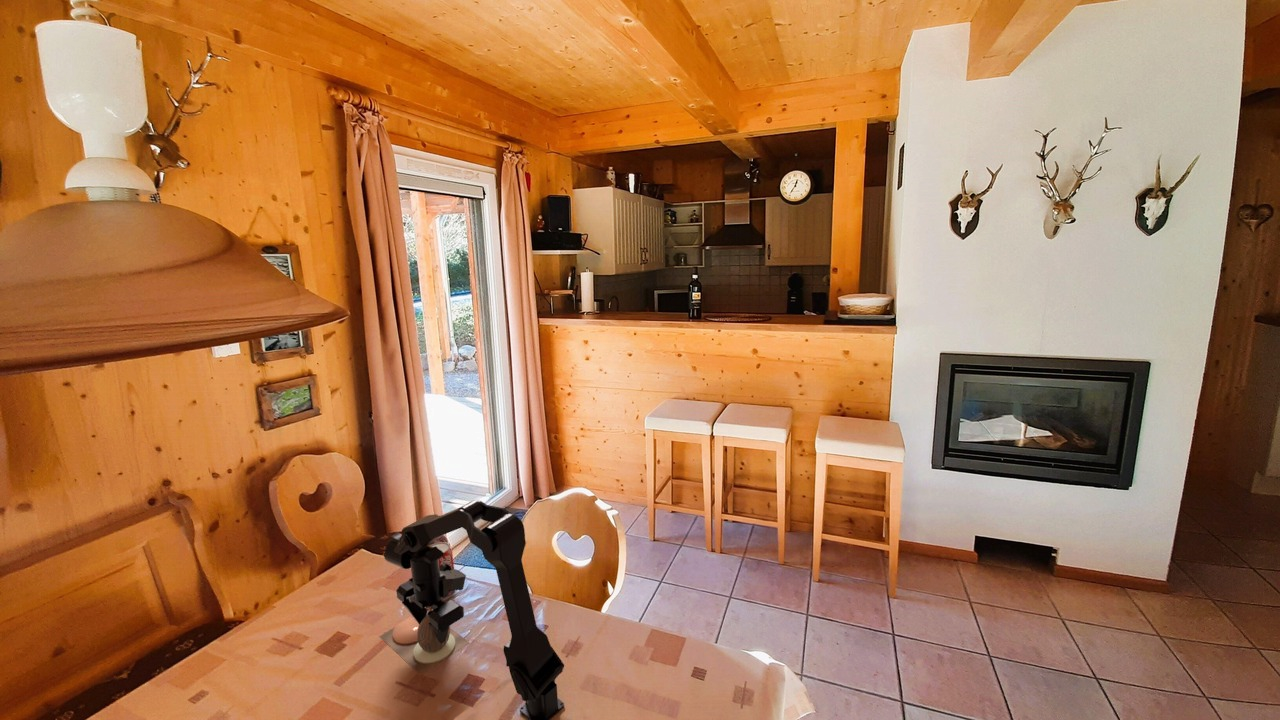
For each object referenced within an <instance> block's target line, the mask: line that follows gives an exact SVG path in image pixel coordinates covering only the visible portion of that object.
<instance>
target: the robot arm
mask: <svg viewBox="0 0 1280 720" xmlns="http://www.w3.org/2000/svg"><path fill="white" fill-rule="evenodd" d="M479 520H482V521H485V522H490V524H488V525H486V526H485V527H483V528H482V529H480V528H479V527H477V526H476V525H475V523H476V522H478V521H479ZM462 528H463V529H464V530H465V531H466V533H467V534H466V535H467V536H468V540H469V542H470V543H471V544H473V545H474V546H475V547H476V548H478V549H479V550H481V552H482V555H483V558H484V559H485V560H486V561H487V562H488V563H490V564H491V565H492V566H493V567H494V569H495V571H496V574H497V575H496V576H497V579H498V583H499V589H500V592H501V597H502V600H503V605H504V609H505V612H506V617H507V622H508V626H509V630H510V635H511V636H510V637H511V639H510V640H509V641H508V642H506V643H505V645H504V646H503V654H504V656H505V661H506V664H505V665H506V667H508V670H509V674H510V677H511V679H512V683H513V686H514V688H515V691H516V693H517V694H518V695H520V696H521V700H522V701H523V702H525V703H523V704H522V705H521V706H520V707H519V712H520V713H521V714H522V715H523V716H525V717H526V718H527V719H528V720H551V719H552V718H553V717H554V716H555V715H556V714H558V713H559V712H560V711H561V710H562V709H564V707H565V703H564V702H563V701H562V700H561V699H560V698H558V697H559V696H558V685H557V683H556V679H557V678H558V676H559V675H560V674H562V673H563V672H564V668H565V663H564V662H563V660H561V658H560V657H559V655H558V654H557V652H556V651H555V650H554V648H553V646H552V645H551V643H550V640H549V638H548V634H546V633H545V632H543V631H542V630H541V629H540V628H539V627H538V626H537V621H536V617H535V613H534V608H533V605H532V603H533V602H532V601H531V595H530V590H529V588H528V582H527V579H526V575H525V574H526V573H525V569H524V564H523V554H524V551H525V547H526V542H527V541H526V532H525V531H526V530H525V526H524V523H523V521H522V520H521V518H519V517H518V516H516V515H515V514H514V513H512V512H510V511H509V510H507V509H506V508H504V507H499V506H493V505H489V504H487V503H485V502H483V501H482V500H480V499H474V500H471V501H469V502H468V503H465V504H463V505H462V506H461V507H458V508H455V509H453V510H451V511H449V512H445V513H444V514H442V515H439V514H429V515H425V516H424V517H422V518H419V519H418V520H416V521H414V522H412V523H410V524H409V525H406V526H405V527H402V530H401V532H397V533H394V534H393V535H391V536H390V541H389V542H388V543H387V545H386V547H385V550H384V553H383V557H384V559H385V561H386V562H387V563H390V564H392V565H394V566H397V567H399V568H402V569H405V570H409V569H410V571H411V572H410V573H411V578H409V579H408V580H407V581H406V582H403V583H401V584H400V585H399V586H398V587H397V589H396V597H397V599H398V600H400V602H401V604H402V605H403V606H404V607H405V609H406V610H407V611H408V613H409V614H410V615H411V617H414V619H415V620H416V621H417V623H418V624H419V625H420V623H421V621H422V620H423V619H424V617H425V616H426V613H427V610H428V608H431V610H432V609H433V611H432V612H431V614H430V616H429V620H430V623H428V624H429V626H430V628H431V629H432V631H433V632H434V634H435V636H436V637H437V639H438V641H439V642H440V643H441V644H442V643H443V642H445V640H446V637H447V633H448V629H449V626H451V625H453V624H455V623H456V622H458V621H459V620H461V619H462V618H465V617H464V616H465V608H464V606H462V605H461V604H460V603H458V602H457V601H455V600H453V599H450V600H448V601H446V602H445V601H444V600H442V598H443V599H444V598H446V597H448V596H450V594H449V593H448V592H450V591H453V592H455V591H463V590H464V586H465V582H466V578H467V575H466V574H465V573H464V572H462V571H460V570H458V569H456V568H455V567H454V568H452V569H451V566H450V565H449V564H447V563H444V564H441V566H440V567H439V558H441V557H443V556H444V553H443V552H442V551H441V550H439V549H438V548H437V547H436V546H435V547H432V546H430V545H431V543H432V544H433V543H434V542H435V541H437V540H439V539H440V538H441V537H443V536H444V535H445V534H446V535H447V534H449V533H451V532H454V531H457V530H459V529H462Z"/></svg>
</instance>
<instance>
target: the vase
mask: <svg viewBox="0 0 1280 720" xmlns="http://www.w3.org/2000/svg"><path fill="white" fill-rule="evenodd" d="M432 611H433V609H432V608H431V609H430V610H428V612H427V613H426V616H425V617H424V619H423V620H422V621H421V623H420V625H419V627H418V632H417V639H418V643H419V645H420V647H421V648H422V649H423V650H424V651H426V652H430V653H433V652H437V651H439V650H441V649H442V648H443V647H444V646H445V645H446V643H447V642H448V639H449V635H450V628H451V627H450V626H451V625H450V626H449V629H448V633H447V637H446V640H445V642H443V643H442V644H441V643H440V642H439V641H438V639H437V637H436V636H435V634H434V632H433V631H432V629H431V628H430V626H429V624H428V623H430V620H429V616H430V614H431V612H432Z"/></svg>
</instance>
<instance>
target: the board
mask: <svg viewBox="0 0 1280 720" xmlns="http://www.w3.org/2000/svg"><path fill="white" fill-rule="evenodd" d="M428 611H429V610H428V609H427V612H428ZM395 627H396V626H395ZM395 627H393V628H391V629H389V630H387V631H386V632H384V633H382V634H381V635H379V636H378V637H379V638H381V640H382V641H383V642H385V644H387V645H388V647H390V648H391V649H392V650H393V651H394V652H395V653H396V654H397V655H398V656H399V657H401V658H402V659H403V661H405V663H406V664H408V665H409V666H410V667H412V669H414V671H416V672H417V673H418V674H419V675H420V676H422V675H423V674H425V673H427V672H428V671H429V670H431V669H433V668H434V667H435V666H436V665H438V664H440V663H441V662H443V661H444V660H446V659H448V658H449V657H450V656H452V655H453V654H455V653H456V652H458V651H459V650H461V649H462V648H464V647H465V646H467V645H468V644H470V642H469V641H468V640H467V639H466V638H464V636H462V635H460V633H458V632H457V631H456V630H454V629H453V628H452V627H450V634H451V635H453V636H454V638H455V643H456V644H455V648H454V650H453V651H452V653H451V654H450V655H448V656H447V657H446V658H444V659H443V660H441V661H438V662H435V663H430V664H423V663H419V662H417V661H416V660H415V658H414V655H413V650H414V648H415V646H416V644H417V643H418V642H415V643H411V644H399V643H397V642H395V641H394V639H393V630H394V629H395Z"/></svg>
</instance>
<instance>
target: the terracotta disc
mask: <svg viewBox="0 0 1280 720" xmlns="http://www.w3.org/2000/svg"><path fill="white" fill-rule="evenodd" d="M418 627H419V624H418V623H417V621H416V620H415V619H414V617H413V616H410V617H408V618H406V619H404V620H402V621H401V622H399V623H398V624H397V625H396V626H395V629H394V630H393V639H394V641H395V642H397V643H399V644H411V643H415V642H418V639H417V632H418Z"/></svg>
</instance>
